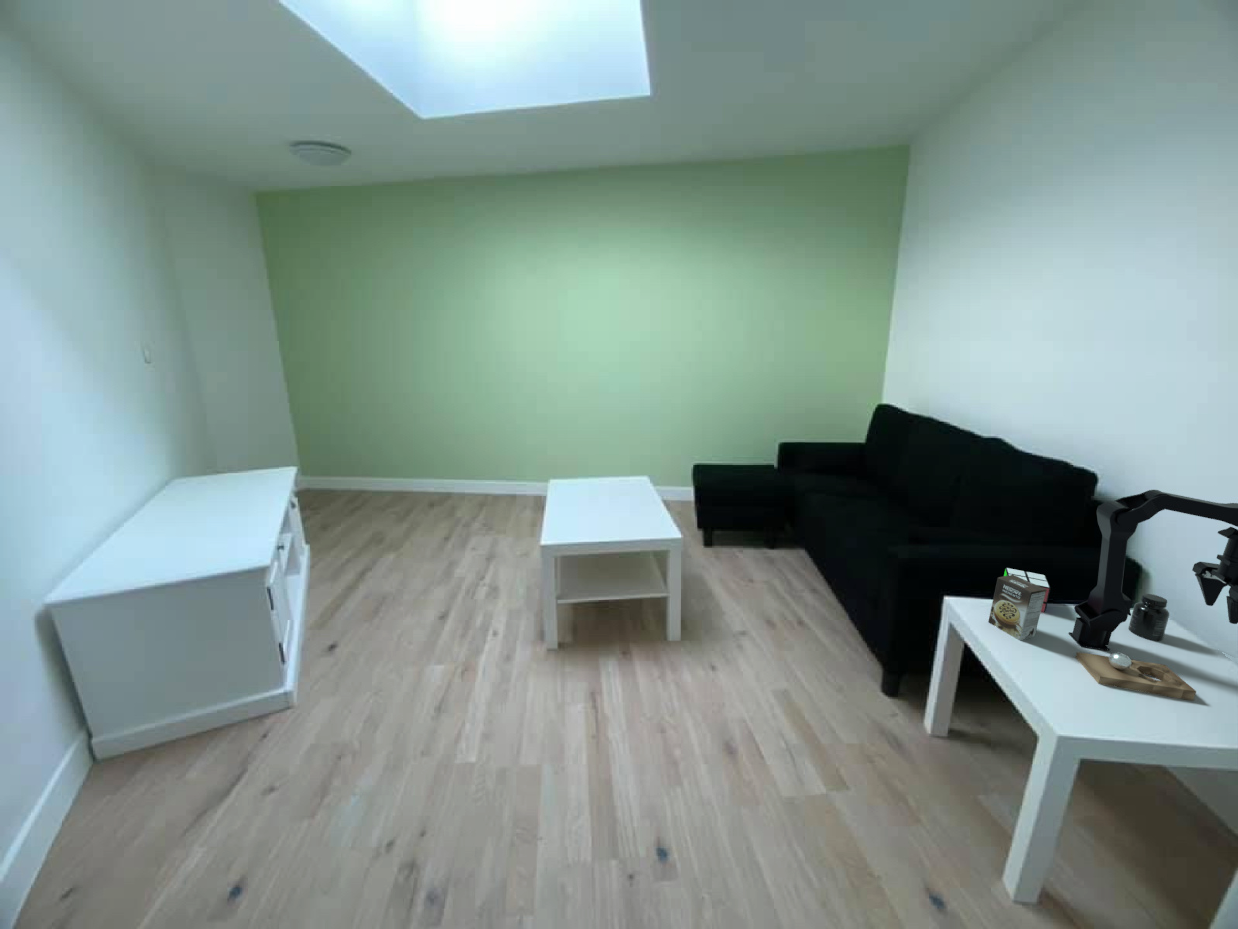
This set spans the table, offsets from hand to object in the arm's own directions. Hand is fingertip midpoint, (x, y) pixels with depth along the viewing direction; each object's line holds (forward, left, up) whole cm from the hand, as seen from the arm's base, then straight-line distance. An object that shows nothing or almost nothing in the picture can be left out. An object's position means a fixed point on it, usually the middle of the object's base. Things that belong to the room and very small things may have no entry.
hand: (1220, 614), depth 124 cm
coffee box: (-42, +2, -15) cm, 44 cm away
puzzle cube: (-32, +21, -15) cm, 41 cm away
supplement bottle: (-6, +11, -15) cm, 20 cm away
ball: (-25, -12, -12) cm, 30 cm away
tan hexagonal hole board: (-22, -12, -15) cm, 29 cm away
